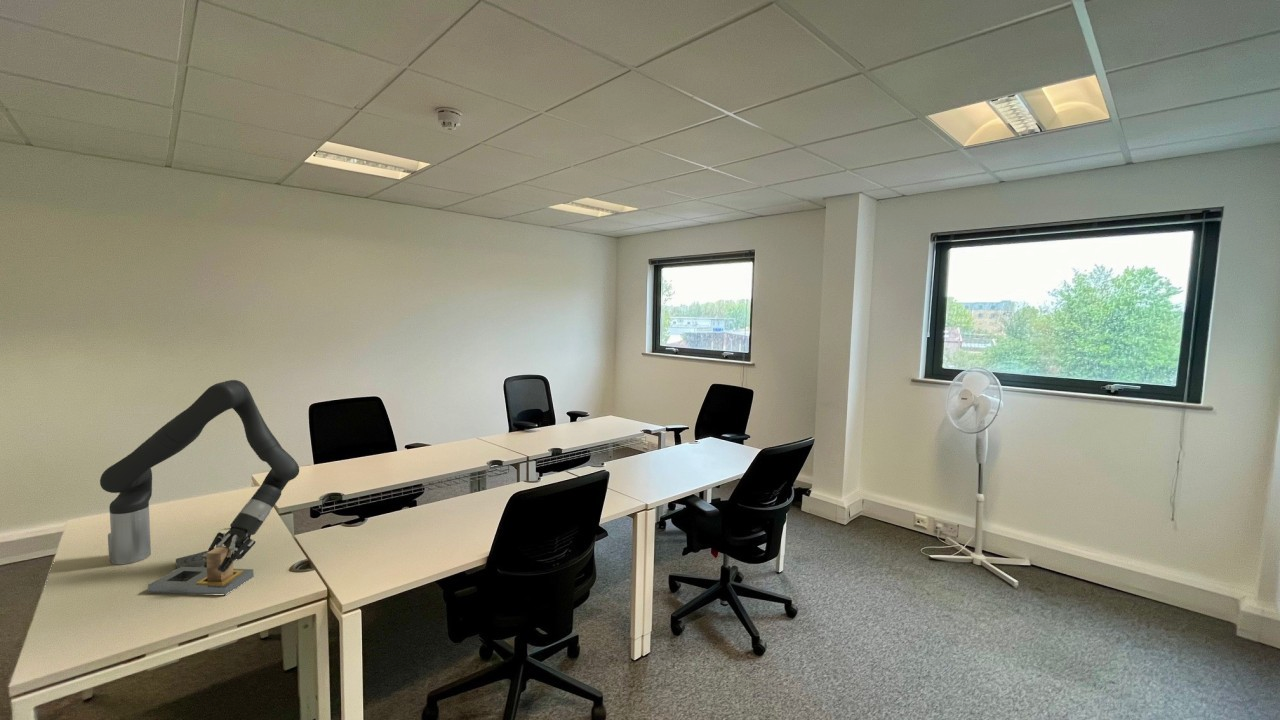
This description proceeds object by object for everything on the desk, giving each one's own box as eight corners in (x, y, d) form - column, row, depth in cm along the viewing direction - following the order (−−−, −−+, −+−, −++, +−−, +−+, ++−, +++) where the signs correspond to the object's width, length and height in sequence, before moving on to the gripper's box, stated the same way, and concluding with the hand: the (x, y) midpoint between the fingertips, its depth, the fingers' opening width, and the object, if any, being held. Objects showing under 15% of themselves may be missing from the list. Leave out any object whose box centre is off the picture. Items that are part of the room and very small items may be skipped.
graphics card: (237, 538, 180) (244, 549, 172) (237, 548, 180) (244, 559, 172) (173, 553, 167) (177, 566, 159) (174, 564, 168) (178, 577, 160)
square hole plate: (148, 592, 150) (147, 583, 149) (181, 574, 160) (181, 565, 160) (225, 595, 150) (225, 586, 149) (253, 576, 161) (253, 568, 160)
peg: (207, 584, 153) (206, 553, 152) (219, 576, 157) (218, 546, 156) (221, 585, 153) (220, 553, 152) (233, 577, 157) (232, 547, 156)
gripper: (226, 508, 162) (186, 561, 152) (260, 515, 159) (221, 569, 148) (243, 518, 168) (205, 569, 157) (277, 524, 164) (240, 577, 154)
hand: (213, 569), depth 153 cm, fingers closed on peg, 5 cm apart
